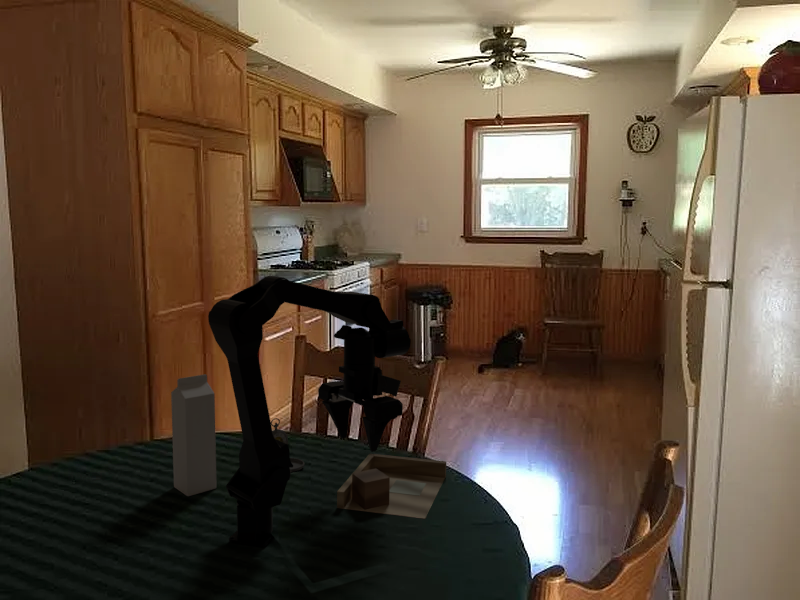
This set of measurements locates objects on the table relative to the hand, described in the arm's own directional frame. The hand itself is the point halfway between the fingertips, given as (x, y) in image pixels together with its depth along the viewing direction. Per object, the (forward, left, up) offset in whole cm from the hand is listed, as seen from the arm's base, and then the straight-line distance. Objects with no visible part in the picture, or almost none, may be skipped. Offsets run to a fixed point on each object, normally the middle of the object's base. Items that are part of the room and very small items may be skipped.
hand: (358, 444), depth 125 cm
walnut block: (-2, -3, -10) cm, 10 cm away
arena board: (+4, -6, -11) cm, 13 cm away
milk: (-3, +32, -11) cm, 34 cm away
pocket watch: (+12, +20, -11) cm, 25 cm away
